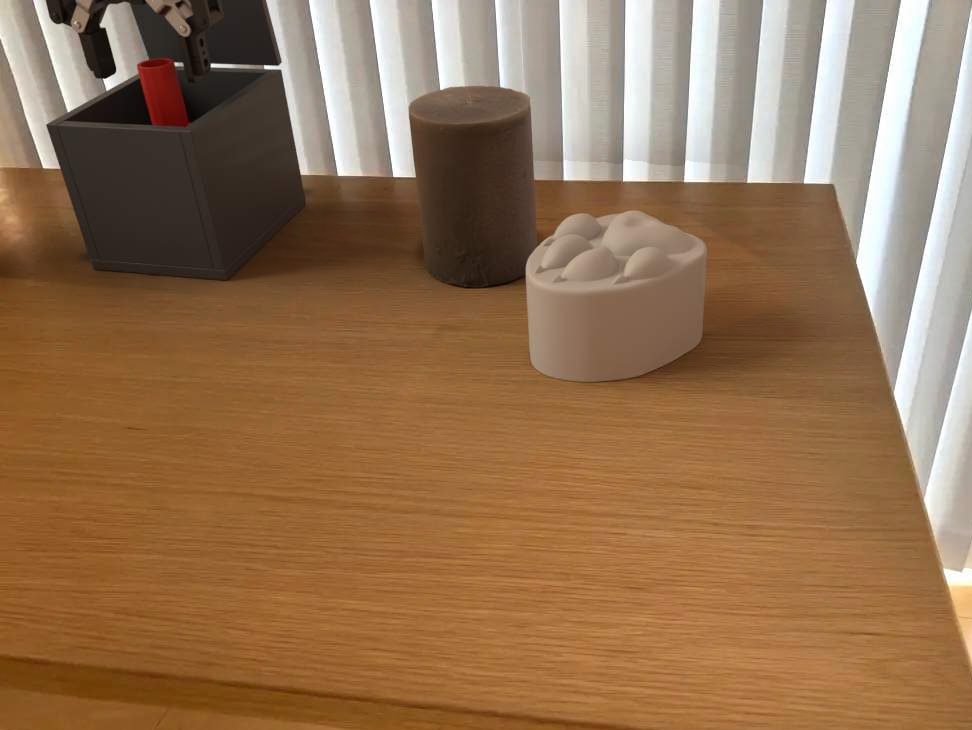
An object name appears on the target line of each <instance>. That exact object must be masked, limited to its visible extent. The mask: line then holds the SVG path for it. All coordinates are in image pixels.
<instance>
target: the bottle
mask: <svg viewBox="0 0 972 730" xmlns="http://www.w3.org/2000/svg"><path fill="white" fill-rule="evenodd" d="M175 66H176V64H175V62H174V60H172V59H169V58H157V59H150V60H149V59H147V60H142V61H140V62H139V63H137V66H136V69H137V72H138V73H137V74H139V76H140V80H141V84H142V88H143V91H144V95H145V99H146V103H147V106H148V110H149V114H150V118H151V121H152V125H156V126H177V127H186V126H188V125H189V124H191V123H192V122H189V121H188V117H187V113H186V109H185V105H184V100H183V96H182V92H181V88H180V84H179V80H178V76H177V72H176V68H175Z"/></svg>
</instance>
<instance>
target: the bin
mask: <svg viewBox="0 0 972 730" xmlns="http://www.w3.org/2000/svg"><path fill="white" fill-rule="evenodd" d="M175 68H176V72H177V76H178V80H179V84H180V88H181V92H182V96H183V100H184V105H185V109H186V113H187V117H188V121H189V122H192V123H191V124H189V125H188V126H186V127H177V126H156V125H152V121H151V118H150V114H149V110H148V106H147V103H146V99H145V95H144V91H143V88H142V84H141V80H140V76H139V73H137V74H135V75H133V76H131V77H129V78H127V79H126V80H124V81H122V82H120V83H119V84H117V85H115V86H113V87H111V88H110V89H107V90H106V91H104V92H102V93H100V94H99V95H97V96H95V97H93V98H92V99H90V100H88V101H86V102H84V103H82V104H81V105H79V106H77V107H75V108H73V109H72V110H70V111H68V112H66V113H64V114H63V115H61V116H59V117H57V118H55V119H53V120H51V121H50V122H48V123H46V124H45V126H46V129H47V133H48V135H49V138H50V141H51V145H52V147H53V150H54V153H55V157H56V159H57V163H58V165H59V169H60V172H61V175H62V178H63V181H64V184H65V187H66V190H67V193H68V196H69V200H70V203H71V205H72V208H73V211H74V214H75V217H76V221H77V223H78V227H79V230H80V233H81V236H82V238H83V242H84V245H85V248H86V251H87V254H88V257H89V259H90V263H91V266H92V269H93V270H96V271H108V272H119V273H132V274H144V275H154V276H155V275H157V276H168V277H178V278H192V279H204V280H216V281H225V282H226V281H229V280H230V278H232V277H233V275H235V274H236V273H237V272H238V271H239V270H240V269H241V268H242V267H243V266H244V265H245V264H246V263H247V262H248V261H250V260H251V258H252V257H253V256H254V255H256V254H257V253H258V252H259V250H260V249H262V248H263V247H264V246H265V245H266V244H267V243H268V242H269V241H270V240H271V239H272V238H273V237H274V236H275V235H276V234H277V233H278V232H279V231H281V230H282V229H283V227H285V225H286V224H287V223H289V221H291V219H292V218H294V217H295V215H297V214H298V213H299V212H300V211H301V210H302V209H303V208H304V207H305V206H306V205H307V202H306V197H305V190H304V183H303V179H302V174H301V168H300V163H299V157H298V153H297V147H296V141H295V136H294V131H293V125H292V120H291V114H290V108H289V104H288V98H287V93H286V92H287V91H286V87H285V82H284V77H283V71H282V69H280V68H279V69H278V68H277V69H275V68H274V69H273V68H272V69H271V68H246V67H245V68H243V67H214V66H213V67H212V66H211V68H210V71H209V72H208V74H207V77H206V78H205V79H204V80H202V81H200V82H199V83H189V82H188V81H187V78H186V74H185V70H184V65H175Z"/></svg>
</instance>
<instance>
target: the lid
mask: <svg viewBox="0 0 972 730" xmlns="http://www.w3.org/2000/svg"><path fill="white" fill-rule="evenodd" d="M189 1H190V0H189ZM220 1H221V5H222V9H223V13H224V18H223V20H221V21H220V22H218V23H216V24H214V25H212V26H210V27H209V28H207V29H205V39H206V43H207V48H208V53H209V58H210V62H211V65H236V66H237V65H238V66H239V65H241V66H270V67H279V66H280V65H281V64H282V63H283V61H282V60H283V59H282V57H281V53H280V48H279V45H278V41H277V37H276V34H275V29H274V26H273V22H272V17H271V14H270V10H269V6H268V2H267V0H220ZM129 6H130V9H131V11H132V15H133V17H134V20H135V23H136V27H137V29H138V32H139V34H140V37H141V40H142V44H143V45H144V49H145V51H146V55H147V57H148V60H150V59H157V58H169V59H172V60H174V63H178V64H180V63H181V64H183V61H182V56H181V52H180V48H179V43H178V39H177V37H179V36H181V35H180V34H179V33H178V32H177V31H176V30H175V29H174V27H173V26H172V25H171V24H170V23H169V22H168V21H167V19H166V18H165V17H164V16H162V15H159V14H157V13H156V12H155V11H154V10H153V9H152V8H151V7H150V5H149V4H148V3H146V4H144V5H134V4H131V3H129Z"/></svg>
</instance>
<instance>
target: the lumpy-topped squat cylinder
mask: <svg viewBox="0 0 972 730" xmlns="http://www.w3.org/2000/svg"><path fill="white" fill-rule="evenodd" d="M537 246H538V247H537V248H536V249H535V250H534V251H533V252H532V254H531V255H530V256H529V258H528V261H527V264H526V275H525V289H526V290H525V291H526V309H527V325H528V326H527V327H528V342H529V343H528V345H529V360H530V363H531V365H532V366H533V368H534V369H535V370H536V371H538V372H540V373H541V374H543V375H544V376H547V377H549V378H554V379H557V380H563V381H569V382H578V383H598V382H610V381H619V380H620V381H621V380H627V379H632V378H636V377H640V376H642V375H645V374H649V373H650V372H652V371H654V370H657V369H659V368H661V367H664V366H666V365H668V364H670V363H672V362H673V361H675V360H677V359H679V358H680V357H682V356H683V355H686V354H687V353H689V352H690V351H692V350H693V349H695V348H696V347H697V346H698V345H699V344H700V343H701V341H702V339H703V330H704V328H703V327H704V312H705V296H706V294H705V293H706V278H707V260H708V259H707V258H708V249H707V245H706V243H705V242H704V241H703V240H702V239H700V237H697V236H696V235H693V234H691V233H687V232H684V231H683V230H681V229H680V228H679V227H677V226H674V225H670V224H666V223H664V222H662V221H661V220H659V219H657V218H656V217H654V216H651V215H649V214H647V213H645V212H643V211H640V210H627V211H625V212H622V213H621V212H620V213H612V214H607V215H603V216H599V217H594V216H593V215H591V214H590V213H586V212H585V213H583V212H582V213H581V212H580V213H575V214H572V215H570V216H568V217H566V218H564V219H563V220H562V221H561V223H560V224H559V225H558V226H557V228H556V230H555V232H554V234H552V235H550V236H548V237H547V238H545V239H544V240H543V241H542V242H540V243H539V244H538V245H537Z"/></svg>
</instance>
